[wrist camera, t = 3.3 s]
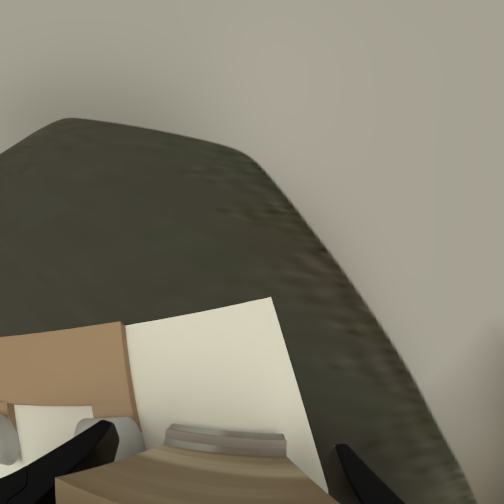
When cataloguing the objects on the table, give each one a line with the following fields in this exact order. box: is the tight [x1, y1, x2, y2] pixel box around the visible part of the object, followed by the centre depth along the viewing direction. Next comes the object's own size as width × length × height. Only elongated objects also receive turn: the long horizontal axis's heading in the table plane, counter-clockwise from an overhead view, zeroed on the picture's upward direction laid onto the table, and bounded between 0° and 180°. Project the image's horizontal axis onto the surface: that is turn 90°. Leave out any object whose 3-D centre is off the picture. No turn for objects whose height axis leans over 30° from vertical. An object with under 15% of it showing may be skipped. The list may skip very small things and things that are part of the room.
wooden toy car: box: [55, 424, 340, 504], centre depth 7 cm, size 3×5×11 cm
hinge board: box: [0, 297, 328, 493], centre depth 10 cm, size 14×23×4 cm, turn 104°
